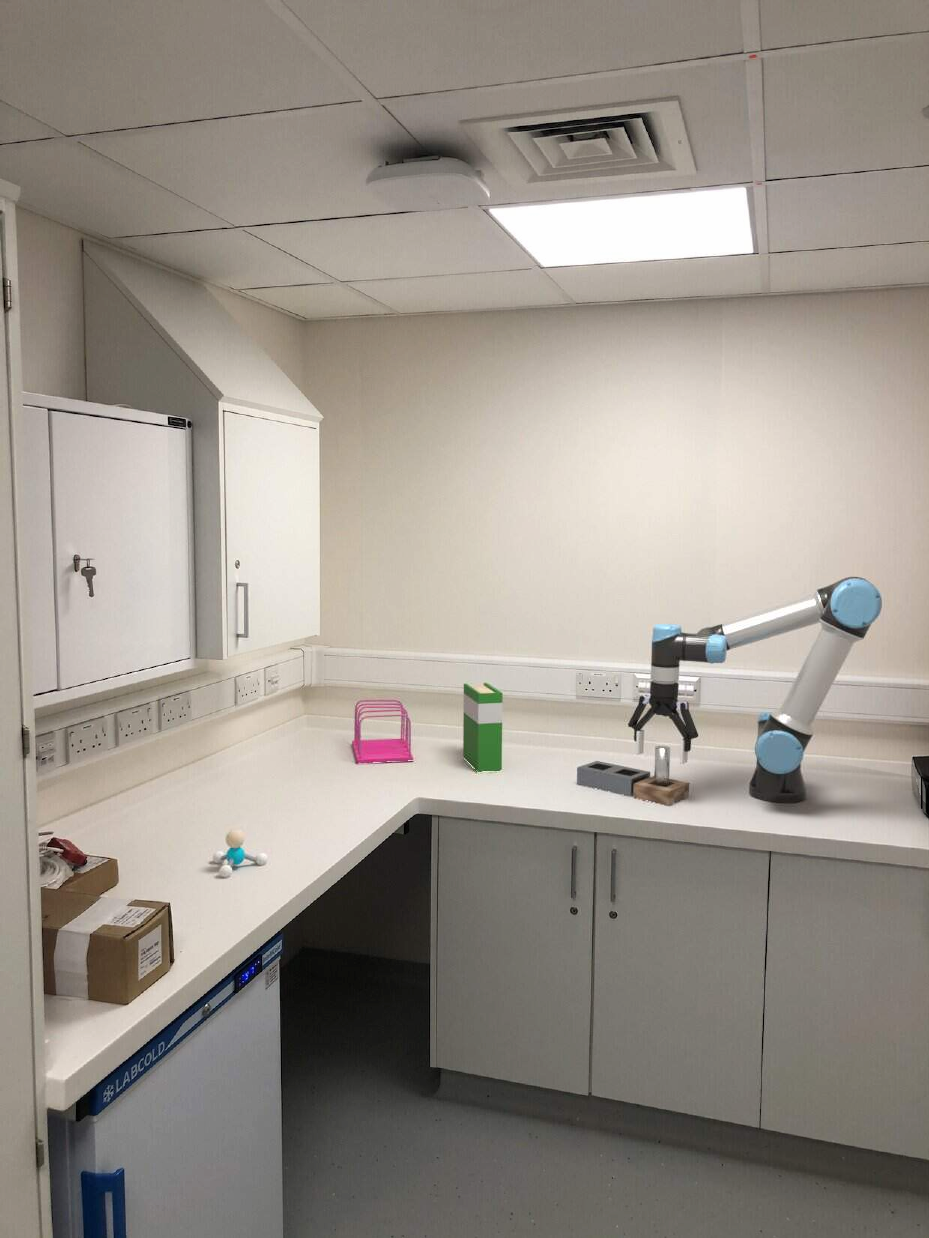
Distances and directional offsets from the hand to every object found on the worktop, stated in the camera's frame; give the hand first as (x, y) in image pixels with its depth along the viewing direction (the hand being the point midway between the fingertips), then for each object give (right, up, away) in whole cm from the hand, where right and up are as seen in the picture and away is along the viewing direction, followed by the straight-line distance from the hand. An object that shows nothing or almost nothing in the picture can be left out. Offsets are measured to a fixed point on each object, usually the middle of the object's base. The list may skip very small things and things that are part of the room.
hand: (661, 758), depth 265 cm
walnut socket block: (0, -11, +1) cm, 11 cm away
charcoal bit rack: (-11, -10, +11) cm, 19 cm away
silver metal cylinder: (0, -11, +1) cm, 11 cm away
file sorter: (-80, -6, +48) cm, 94 cm away
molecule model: (-104, -17, -53) cm, 118 cm away
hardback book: (-48, -7, +34) cm, 60 cm away
